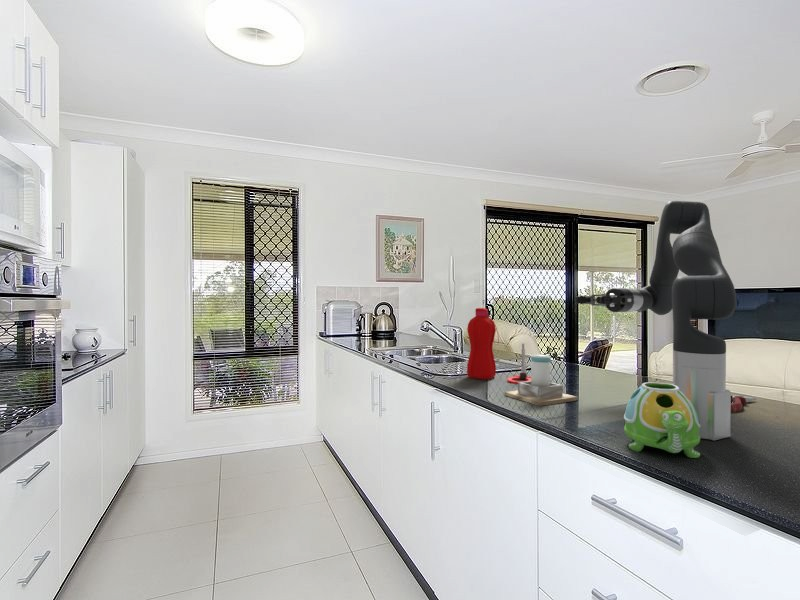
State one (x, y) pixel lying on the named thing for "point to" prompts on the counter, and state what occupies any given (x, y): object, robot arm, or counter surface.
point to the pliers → (739, 402)
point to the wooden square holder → (540, 394)
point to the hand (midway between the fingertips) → (588, 300)
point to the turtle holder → (662, 419)
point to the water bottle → (481, 346)
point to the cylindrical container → (540, 370)
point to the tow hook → (523, 371)
